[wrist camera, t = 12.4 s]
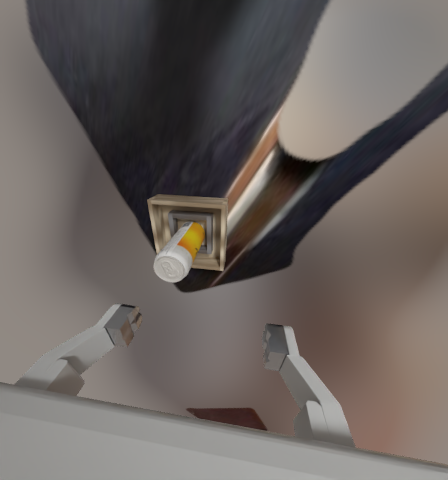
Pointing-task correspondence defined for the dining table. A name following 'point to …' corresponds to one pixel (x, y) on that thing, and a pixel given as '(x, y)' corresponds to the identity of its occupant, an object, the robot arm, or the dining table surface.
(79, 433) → the robot arm
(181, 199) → the crate
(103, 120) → the dining table surface
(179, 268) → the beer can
